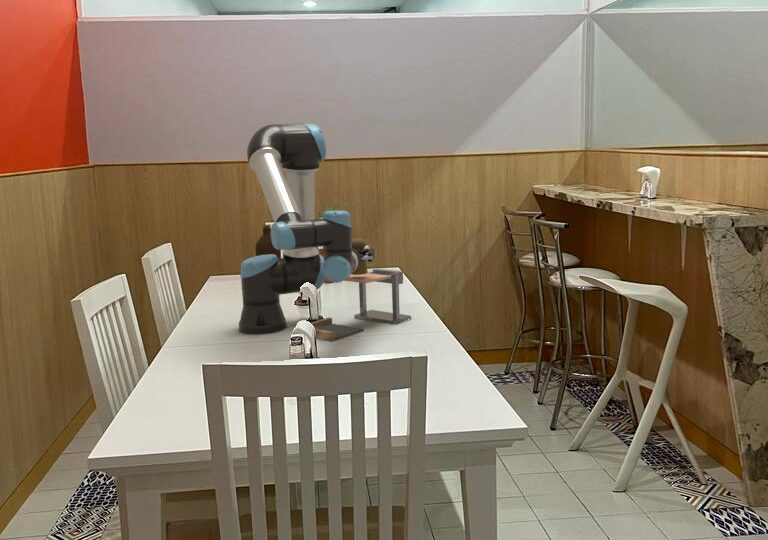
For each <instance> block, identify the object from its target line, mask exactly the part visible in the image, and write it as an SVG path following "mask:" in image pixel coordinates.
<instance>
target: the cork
mask: <svg viewBox="0 0 768 540" xmlns="http://www.w3.org/2000/svg"><path fill="white" fill-rule="evenodd" d="M351 245H352V248H354V249H355V250H357V251H362V250H363V248H365V247H366V240H365V239H363V238H351ZM367 273H369V272H368V267H367V261H366V260H364V261H363V262H361V263H360V266H359V267H358V268H357V269H356V270H355V271H354V272H353V273H352V274H351V275H362V274H367ZM351 275H350V276H351Z"/></svg>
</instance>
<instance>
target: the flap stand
mask: <svg viewBox="0 0 768 540" xmlns="http://www.w3.org/2000/svg"><path fill="white" fill-rule="evenodd" d="M358 291H359V292H358V293H359V313H356V314H354V317H353V318H354V319H356V320H361V321H362V320H363V321H369V322H374V323H380V322H381V323H382V324H386V323H388V324H387V325H392V324H396V325H398V324H397V323H399V324H401V323H404V322H406V321H405V320H407V321H409V320H408V319H410V320H412V315H409V314H401V313H400V284H399V274H398V273H397V272H393V273H392V284H391V297H392V298H391V300H392V302H391V304H392V312H390V311H383V310H381V311H380V310H376V309H369V310H367V283H359V282H358ZM403 321H404V322H403ZM400 322H401V323H400Z"/></svg>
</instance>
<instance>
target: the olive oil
mask: <svg viewBox="0 0 768 540" xmlns="http://www.w3.org/2000/svg"><path fill="white" fill-rule="evenodd" d="M254 250H255V256H260V255H268V254H274V255H276V256H277V257H278V259H279V258H282V254H281V253H282V250H277V249H275V248H274V246H273V244H272V239H271V224H262V235H261V236H260V237H259V239H258V240H257V242H256V243H255V249H254Z"/></svg>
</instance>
